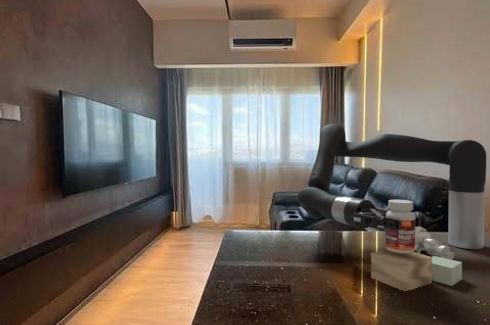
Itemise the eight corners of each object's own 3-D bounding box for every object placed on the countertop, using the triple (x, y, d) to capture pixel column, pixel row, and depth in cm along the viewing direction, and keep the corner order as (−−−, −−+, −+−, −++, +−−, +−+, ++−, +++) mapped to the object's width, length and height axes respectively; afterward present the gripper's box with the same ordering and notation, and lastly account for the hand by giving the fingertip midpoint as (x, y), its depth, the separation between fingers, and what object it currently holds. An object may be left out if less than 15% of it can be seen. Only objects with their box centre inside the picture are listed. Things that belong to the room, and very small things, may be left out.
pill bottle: (401, 255, 70) (402, 204, 70) (379, 247, 76) (380, 200, 75) (421, 251, 73) (422, 202, 72) (398, 244, 78) (399, 198, 78)
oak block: (396, 270, 80) (396, 247, 80) (431, 283, 72) (431, 257, 72) (371, 277, 76) (371, 252, 76) (405, 292, 68) (406, 264, 68)
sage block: (433, 271, 79) (434, 255, 79) (461, 279, 75) (461, 262, 75) (423, 277, 76) (423, 261, 76) (451, 285, 71) (451, 268, 71)
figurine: (446, 234, 84) (406, 213, 99) (425, 254, 84) (389, 230, 99) (464, 258, 87) (424, 234, 102) (445, 277, 87) (407, 250, 102)
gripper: (332, 199, 83) (388, 210, 68) (371, 195, 90) (430, 204, 75) (332, 228, 83) (388, 245, 69) (371, 222, 90) (429, 236, 75)
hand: (409, 223), depth 72 cm, fingers closed on pill bottle, 6 cm apart
